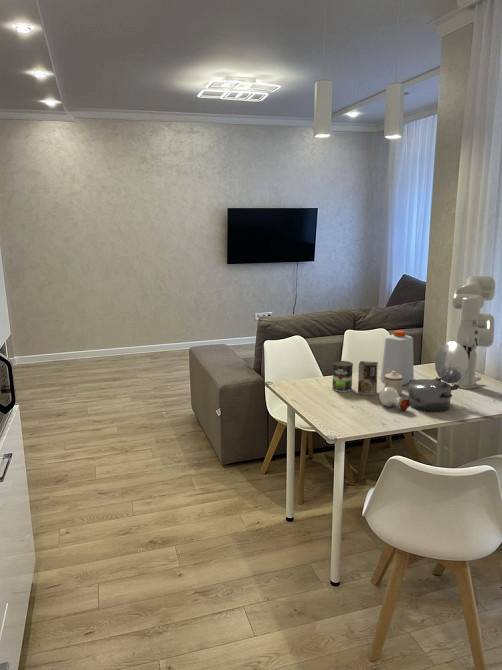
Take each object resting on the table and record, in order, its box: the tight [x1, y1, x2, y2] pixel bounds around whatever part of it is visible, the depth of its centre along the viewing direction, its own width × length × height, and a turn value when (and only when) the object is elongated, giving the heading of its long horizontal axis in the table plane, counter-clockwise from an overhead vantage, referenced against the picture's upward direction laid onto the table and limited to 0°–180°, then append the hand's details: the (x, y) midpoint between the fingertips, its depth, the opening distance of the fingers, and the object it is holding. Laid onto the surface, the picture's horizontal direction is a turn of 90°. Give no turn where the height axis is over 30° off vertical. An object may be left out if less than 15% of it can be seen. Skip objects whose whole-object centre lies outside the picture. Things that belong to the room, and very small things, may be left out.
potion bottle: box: [378, 386, 410, 412], centre depth 249 cm, size 9×10×15 cm
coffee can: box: [331, 360, 354, 393], centre depth 275 cm, size 10×10×14 cm
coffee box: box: [357, 360, 379, 397], centre depth 269 cm, size 9×6×16 cm
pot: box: [407, 376, 461, 413], centre depth 252 cm, size 21×25×10 cm
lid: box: [434, 341, 469, 384], centre depth 253 cm, size 20×20×3 cm
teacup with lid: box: [383, 371, 403, 396], centre depth 270 cm, size 12×9×12 cm
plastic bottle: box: [380, 329, 415, 386], centre depth 287 cm, size 15×15×28 cm
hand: (465, 359), depth 256 cm, fingers closed
